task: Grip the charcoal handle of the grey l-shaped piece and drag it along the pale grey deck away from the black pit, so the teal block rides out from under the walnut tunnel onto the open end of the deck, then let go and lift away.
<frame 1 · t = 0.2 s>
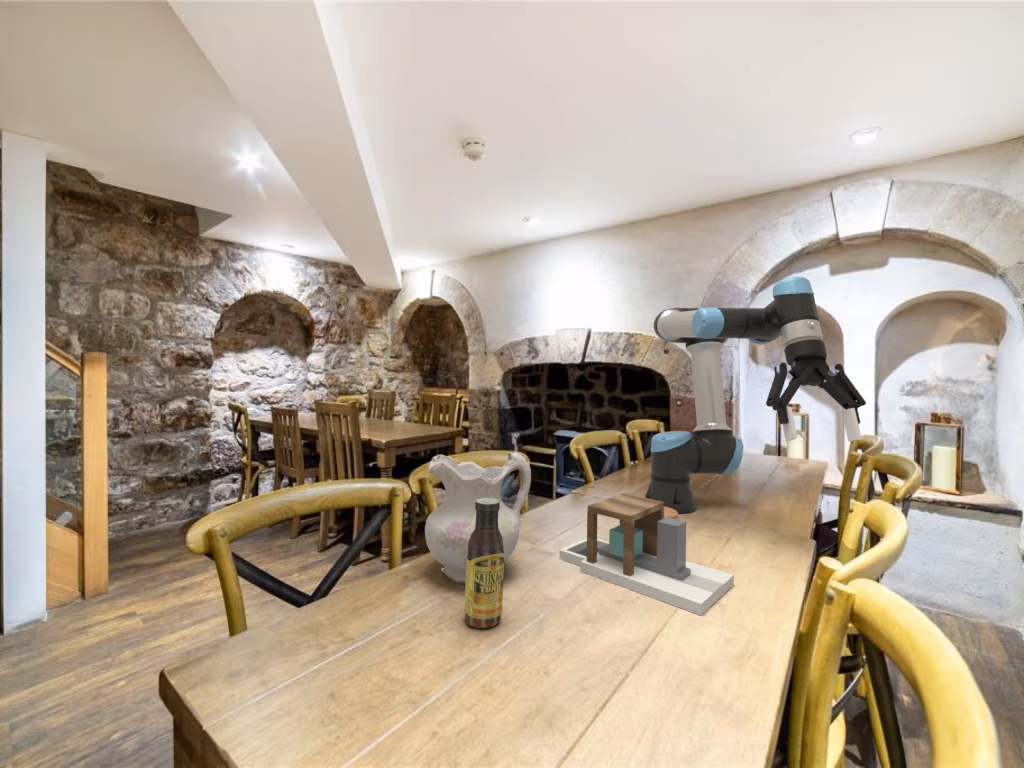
hand: (823, 440, 93), 28 cm above the table, tool tilted 20°, fingers open, 13 cm apart
grey l-shaped piece: (642, 538, 93), point 7 cm above the table, slide at 0.0 cm, touching block
ceramic pitcher: (478, 572, 94), on the table
deck: (654, 577, 92), on the table
block: (625, 553, 96), point 3 cm above the table, touching grey l-shaped piece
sauce bottle: (484, 621, 75), on the table
lidded jar: (654, 542, 112), on the table
tunnel: (625, 568, 96), resting on deck
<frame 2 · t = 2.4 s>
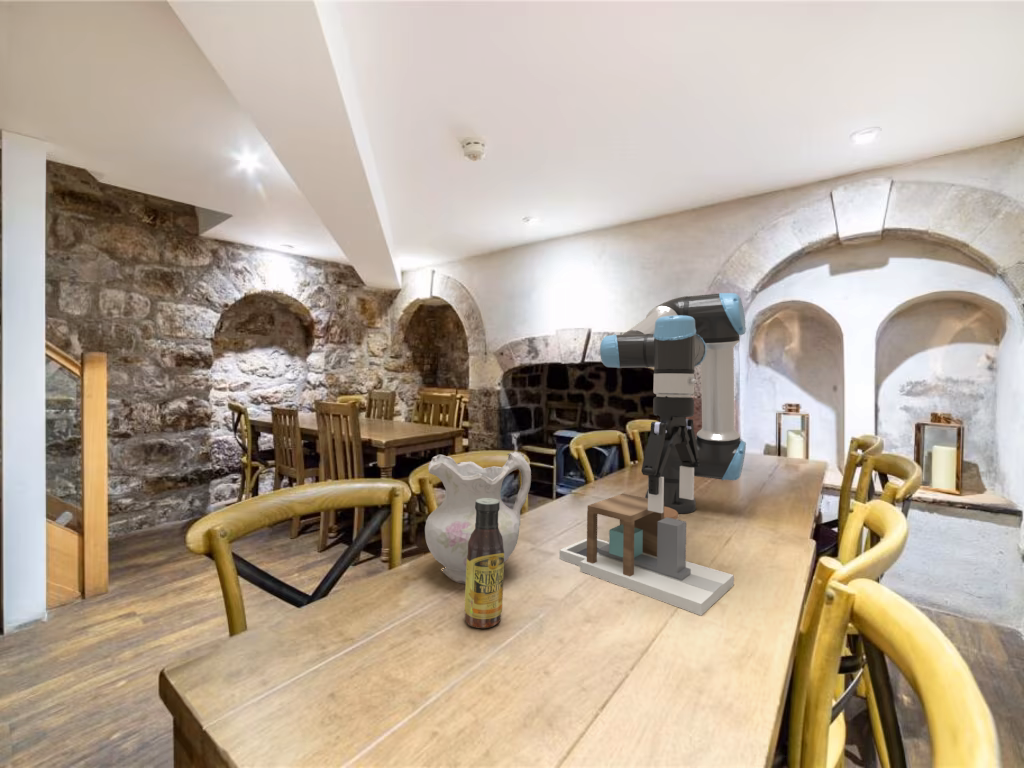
hand: (671, 504, 89), 16 cm above the table, tool pointing down, fingers open, 13 cm apart
nothing on the table moved.
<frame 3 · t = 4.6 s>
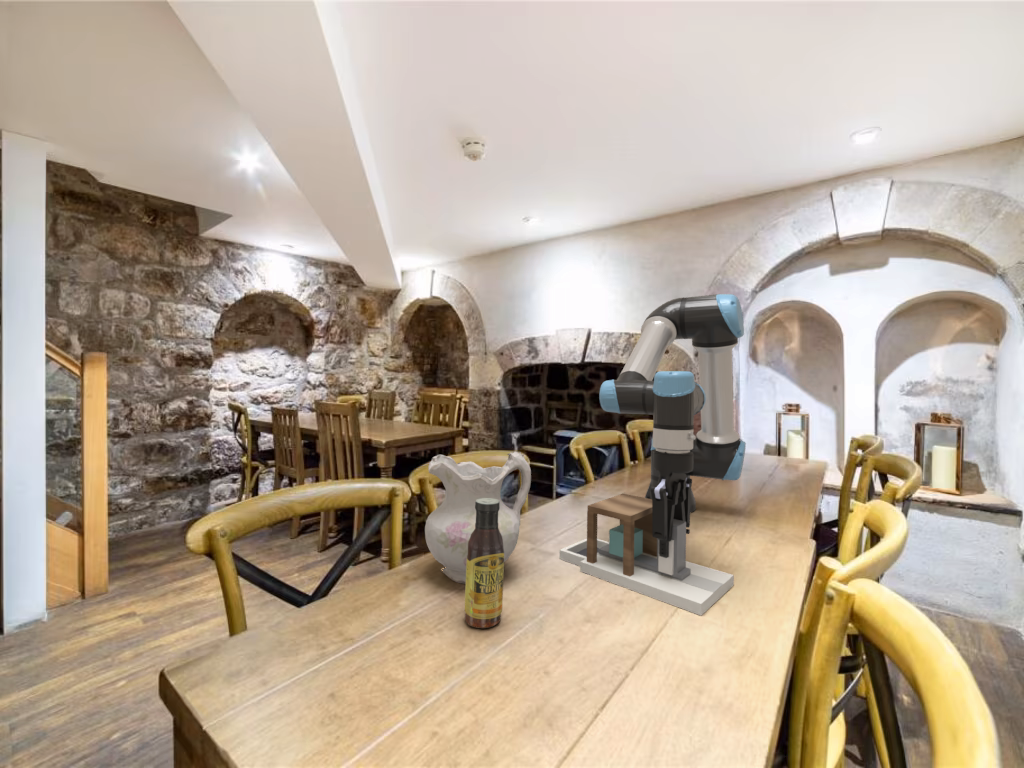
hand: (671, 568, 89), 3 cm above the table, tool pointing down, fingers closed on grey l-shaped piece, 4 cm apart
grey l-shaped piece: (642, 538, 93), point 7 cm above the table, slide at 0.0 cm, touching block, gripper
everything else where it was.
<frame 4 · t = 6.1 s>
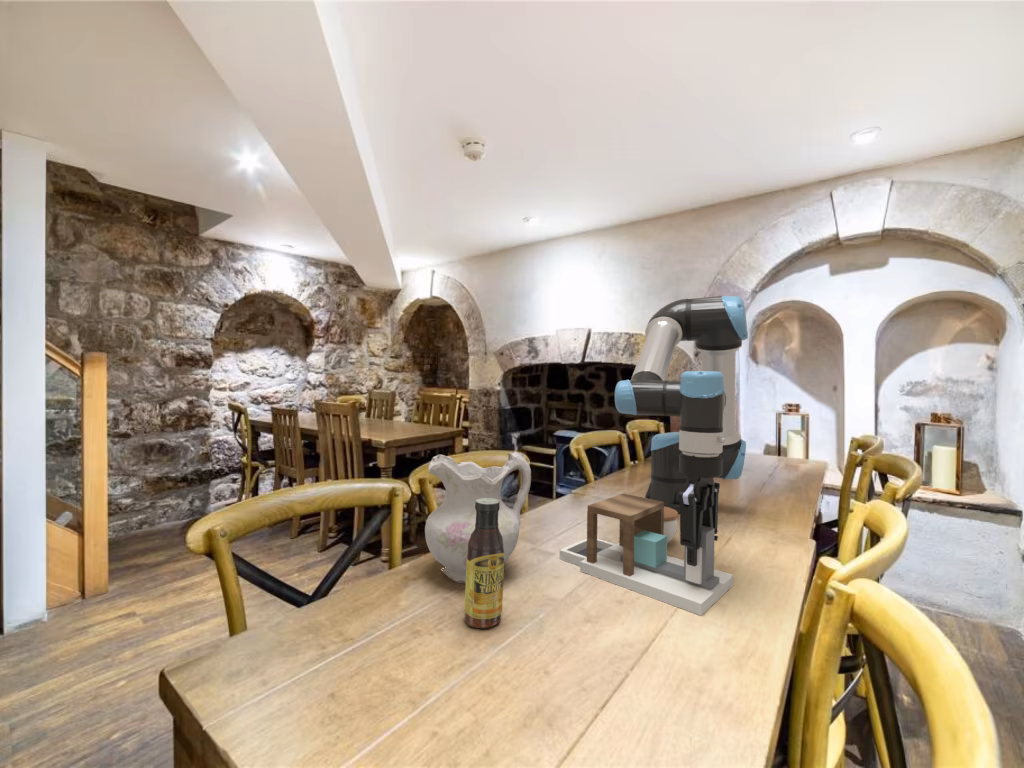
hand: (698, 577, 85), 3 cm above the table, tool pointing down, fingers closed on grey l-shaped piece, 4 cm apart
grey l-shaped piece: (667, 545, 90), point 7 cm above the table, slide at 5.4 cm, touching block, gripper
block: (649, 560, 92), point 3 cm above the table, touching grey l-shaped piece
everything else where it was.
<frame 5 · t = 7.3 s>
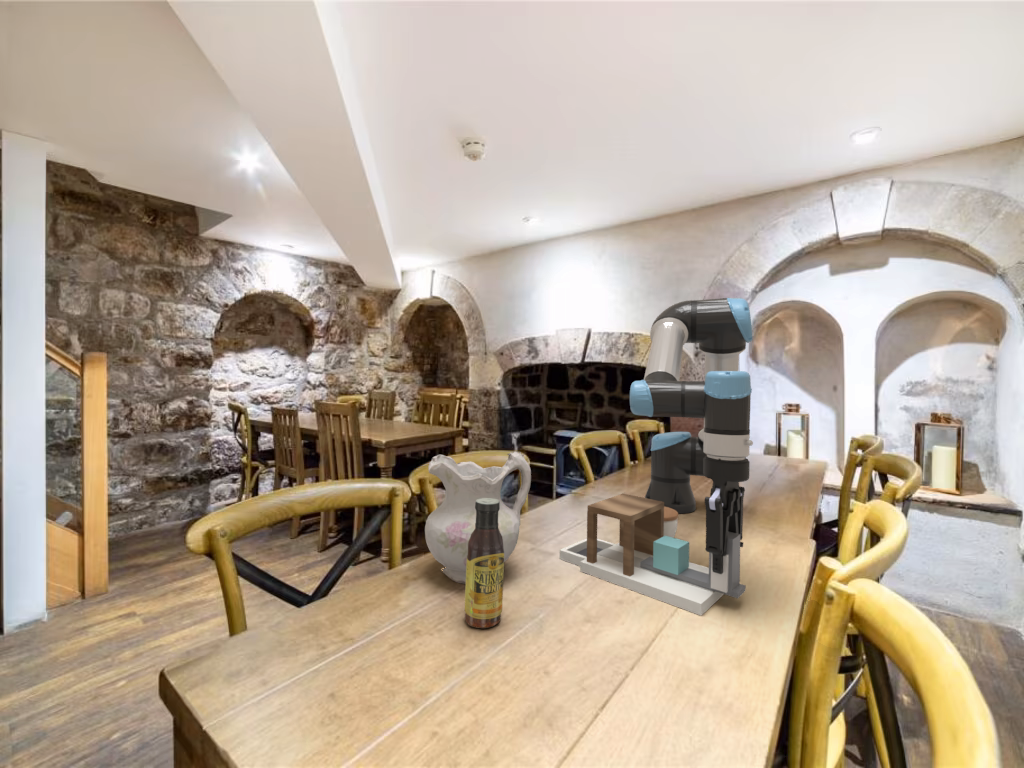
hand: (724, 585, 82), 3 cm above the table, tool pointing down, fingers closed on grey l-shaped piece, 4 cm apart
grey l-shaped piece: (690, 552, 87), point 7 cm above the table, slide at 9.9 cm, touching block, gripper
block: (671, 567, 89), point 3 cm above the table, touching grey l-shaped piece
everything else where it was.
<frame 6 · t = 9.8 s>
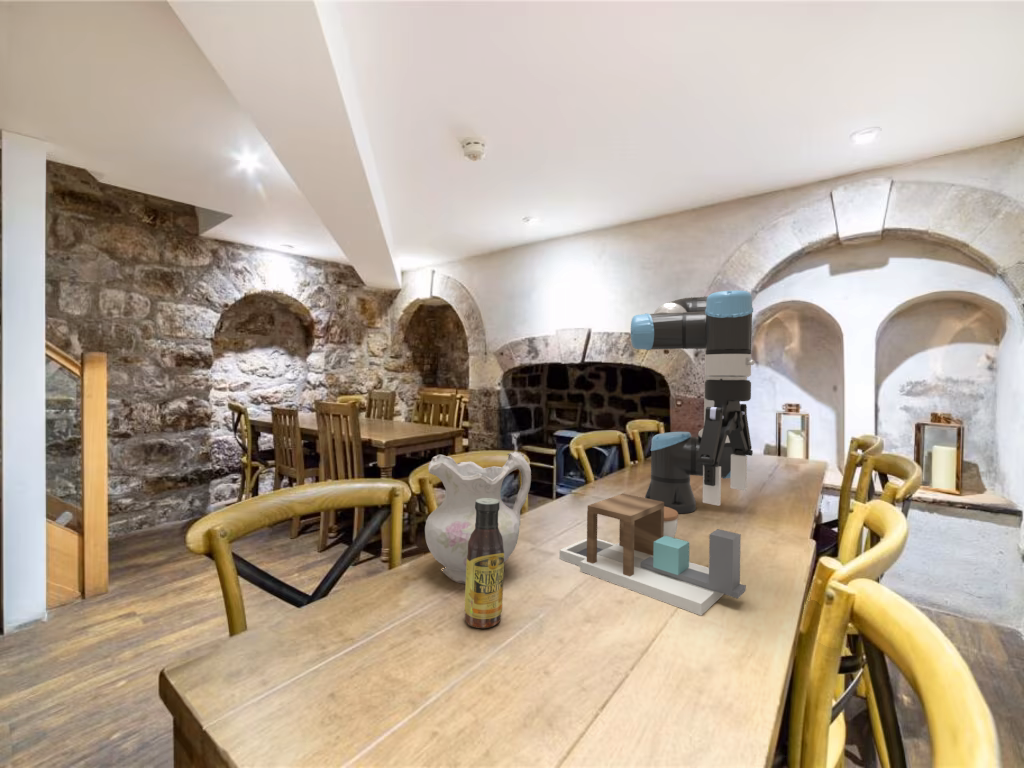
hand: (725, 496, 82), 19 cm above the table, tool pointing down, fingers open, 13 cm apart
grey l-shaped piece: (690, 552, 87), point 7 cm above the table, slide at 10.0 cm, touching block
everything else where it was.
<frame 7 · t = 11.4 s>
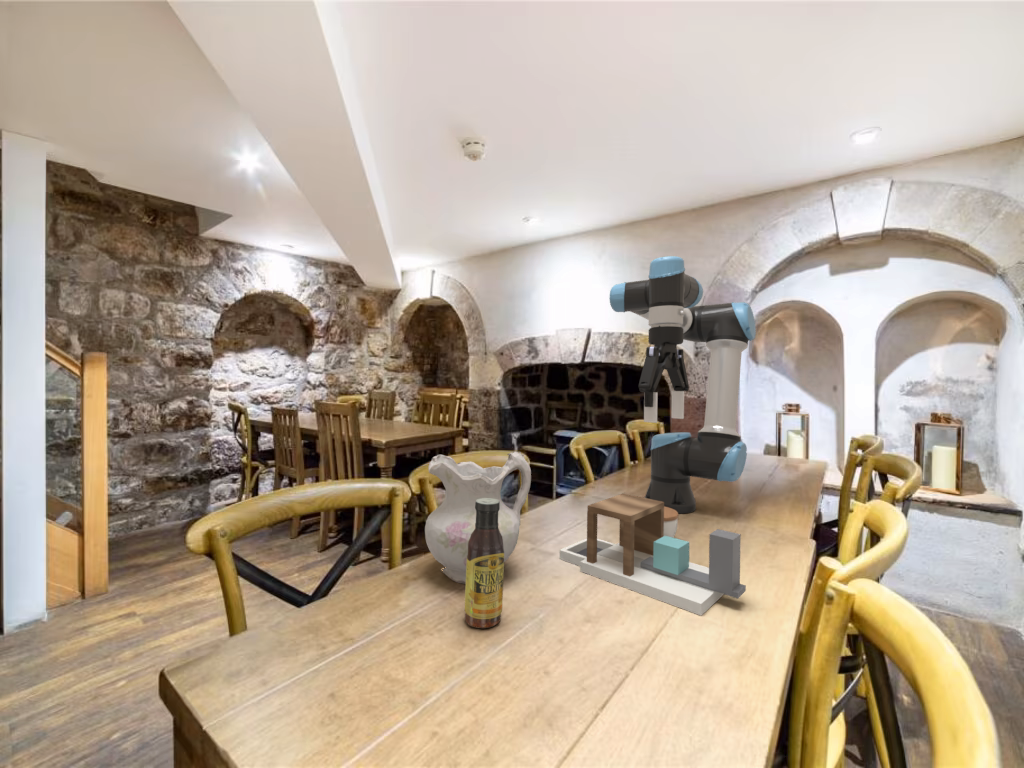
hand: (664, 420, 104), 31 cm above the table, tool pointing down, fingers open, 13 cm apart
nothing on the table moved.
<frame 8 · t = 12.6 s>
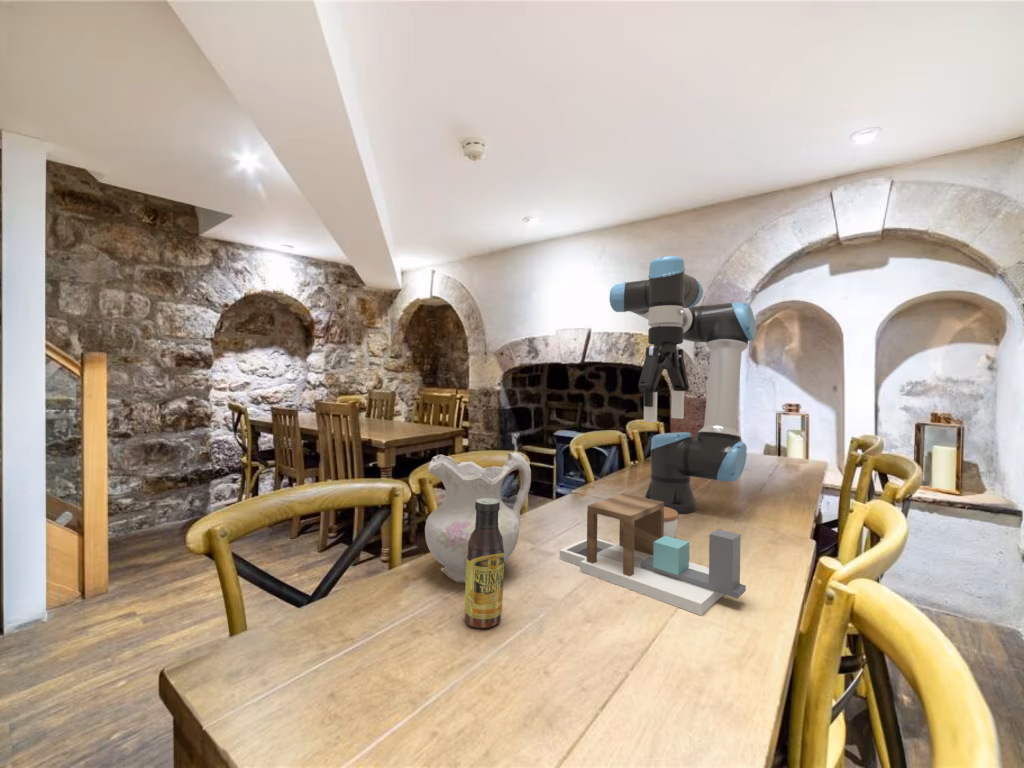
hand: (664, 420, 104), 31 cm above the table, tool pointing down, fingers open, 13 cm apart
nothing on the table moved.
at the end: grey l-shaped piece slide at 10.0 cm; block inside the target area (1.5 cm from its centre), point 3.2 cm above the table; block tilted 0° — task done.
